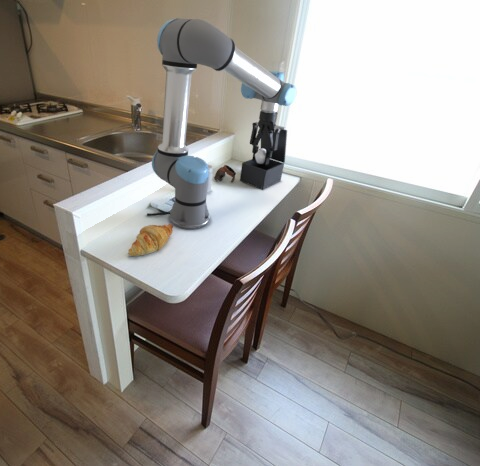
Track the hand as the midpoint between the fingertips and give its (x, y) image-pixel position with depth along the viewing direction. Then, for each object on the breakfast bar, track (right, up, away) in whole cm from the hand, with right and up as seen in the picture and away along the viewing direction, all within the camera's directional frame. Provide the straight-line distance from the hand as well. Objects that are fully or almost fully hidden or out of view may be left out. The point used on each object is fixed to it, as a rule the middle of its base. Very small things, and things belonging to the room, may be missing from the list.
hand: (260, 162), depth 152 cm
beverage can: (-27, -15, -6) cm, 31 cm away
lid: (+6, +9, +1) cm, 11 cm away
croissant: (-46, -38, -43) cm, 73 cm away
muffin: (0, 0, 0) cm, 1 cm away
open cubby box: (+2, -8, +8) cm, 11 cm away
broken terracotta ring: (-17, -8, +6) cm, 20 cm away
